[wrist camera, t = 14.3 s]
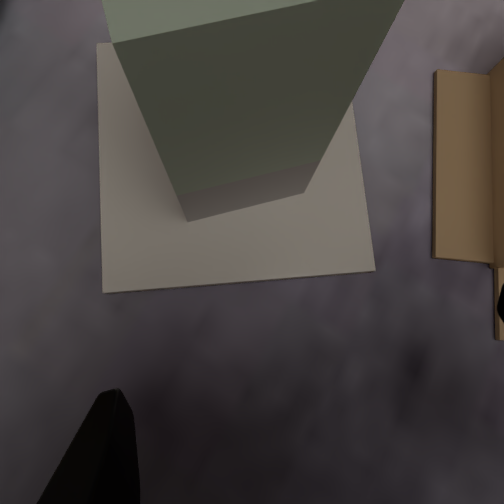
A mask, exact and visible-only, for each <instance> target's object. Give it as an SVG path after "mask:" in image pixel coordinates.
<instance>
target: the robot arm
mask: <svg viewBox="0 0 504 504" xmlns="http://www.w3.org/2000/svg"><path fill="white" fill-rule="evenodd" d="M497 312H498V315H499V317H500V318H501V320H502V321H503V323H504V283H503V285H502V288H501V292H500V296H499V300H498V304H497ZM37 504H140V480H139V468H138V457H137V446H136V435H135V423H134V416H133V412H132V410H131V408H130V406H129V404H128V402H127V400H126V398H125V396H124V395H123V393H122V391H121V390H120V389H118V388H115V389H112V390H108V391H104V392H102V393H100V394H99V395H98V397H97V398H96V400H95V402H94V404H93V405H92V407H91V409H90V411H89V412H88V414H87V416H86V418H85V419H84V421H83V423H82V425H81V427H80V428H79V430H78V432H77V434H76V435H75V437H74V439H73V441H72V442H71V444H70V446H69V448H68V449H67V451H66V453H65V455H64V457H63V458H62V460H61V462H60V464H59V465H58V467H57V469H56V471H55V472H54V474H53V476H52V478H51V479H50V481H49V483H48V485H47V486H46V488H45V490H44V492H43V494H42V495H41V497H40V499H39V501H38V502H37Z"/></svg>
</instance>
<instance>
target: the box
mask: <svg viewBox="0 0 504 504" xmlns="http://www.w3.org/2000/svg"><path fill="white" fill-rule="evenodd" d="M403 2H404V0H102V4H103V8H104V12H105V16H106V21H107V25H108V29H109V33H110V37H111V41H112V45H113V47H114V49H115V52H116V54H117V56H118V59H119V61H120V63H121V66H122V68H123V71H124V73H125V75H126V78H127V80H128V82H129V85H130V87H131V89H132V92H133V94H134V97H135V99H136V101H137V104H138V106H139V108H140V111H141V113H142V115H143V118H144V120H145V123H146V125H147V127H148V130H149V132H150V134H151V137H152V139H153V141H154V144H155V146H156V149H157V151H158V153H159V156H160V158H161V160H162V163H163V165H164V167H165V170H166V172H167V174H168V177H169V179H170V182H171V184H172V186H173V189H174V191H175V193H176V196H177V198H178V200H179V203H180V205H181V208H182V210H183V212H184V215H185V217H186V219H187V222H191V221H195V220H199V219H203V218H207V217H211V216H215V215H219V214H223V213H227V212H231V211H235V210H239V209H243V208H247V207H251V206H255V205H259V204H262V203H266V202H270V201H274V200H278V199H282V198H286V197H290V196H294V195H298V194H302V193H304V192H305V190H306V188H307V186H308V184H309V182H310V181H311V179H312V177H313V175H314V173H315V171H316V169H317V167H318V165H319V163H320V161H321V159H322V157H323V156H324V154H325V152H326V150H327V148H328V146H329V144H330V142H331V140H332V138H333V136H334V134H335V133H336V131H337V129H338V127H339V125H340V123H341V121H342V119H343V117H344V115H345V113H346V111H347V109H348V108H349V106H350V104H351V102H352V100H353V98H354V96H355V94H356V92H357V90H358V88H359V86H360V85H361V83H362V81H363V79H364V77H365V75H366V73H367V71H368V69H369V67H370V65H371V63H372V61H373V60H374V58H375V56H376V54H377V52H378V50H379V48H380V46H381V44H382V42H383V40H384V38H385V37H386V35H387V33H388V31H389V29H390V27H391V25H392V23H393V21H394V19H395V17H396V15H397V13H398V12H399V10H400V8H401V6H402V4H403Z"/></svg>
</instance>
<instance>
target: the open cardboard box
mask: <svg viewBox="0 0 504 504" xmlns="http://www.w3.org/2000/svg"><path fill="white" fill-rule="evenodd" d="M432 258H435V259H446V260H456V261H467V262H477V263H488V264H489V267H490V268H492V269H494V293H495V340H504V323H503V321H502V320H501V318H500V317H499V315H498V312H497V304H498V300H499V296H500V292H501V288H502V285H503V283H504V58H503V59H502V60H501V61H500V62H499V63H498V64H497V65H496V66H495V67H494V68H493V69H492V70H491V71H490V72H489V73H488V74H487V75H485V74H476V73H466V72H457V71H448V70H439V69H437V70H436V71H435V73H434V134H433V240H432Z"/></svg>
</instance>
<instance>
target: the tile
mask: <svg viewBox="0 0 504 504" xmlns="http://www.w3.org/2000/svg"><path fill="white" fill-rule="evenodd" d="M97 82H98V123H99V165H100V206H101V247H102V289H103V293H105V294H115V293H127V292H139V291H151V290H164V289H176V288H188V287H200V286H213V285H225V284H237V283H249V282H261V281H274V280H286V279H298V278H310V277H323V276H335V275H347V274H359V273H371V272H374V271H376V269H375V262H374V255H373V248H372V241H371V233H370V226H369V219H368V212H367V205H366V198H365V190H364V183H363V176H362V169H361V162H360V155H359V148H358V140H357V133H356V126H355V119H354V112H353V105H352V102H351V104H350V106H349V108H348V109H347V111H346V113H345V115H344V117H343V119H342V121H341V123H340V125H339V127H338V129H337V131H336V133H335V134H334V136H333V138H332V140H331V142H330V144H329V146H328V148H327V150H326V152H325V154H324V156H323V157H322V159H321V161H320V163H319V165H318V167H317V169H316V171H315V173H314V175H313V177H312V179H311V181H310V182H309V184H308V186H307V188H306V190H305V192H304V193H302V194H298V195H294V196H290V197H286V198H282V199H278V200H274V201H270V202H266V203H262V204H259V205H255V206H251V207H247V208H243V209H239V210H235V211H231V212H227V213H223V214H219V215H215V216H211V217H207V218H203V219H199V220H195V221H191V222H187V219H186V217H185V215H184V212H183V210H182V208H181V205H180V203H179V200H178V198H177V196H176V193H175V191H174V189H173V186H172V184H171V182H170V179H169V177H168V174H167V172H166V170H165V167H164V165H163V163H162V160H161V158H160V156H159V153H158V151H157V149H156V146H155V144H154V141H153V139H152V137H151V134H150V132H149V130H148V127H147V125H146V123H145V120H144V118H143V115H142V113H141V111H140V108H139V106H138V104H137V101H136V99H135V97H134V94H133V92H132V89H131V87H130V85H129V82H128V80H127V78H126V75H125V73H124V71H123V68H122V66H121V63H120V61H119V59H118V56H117V54H116V52H115V49H114V47H113V45H112V43H97Z"/></svg>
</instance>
